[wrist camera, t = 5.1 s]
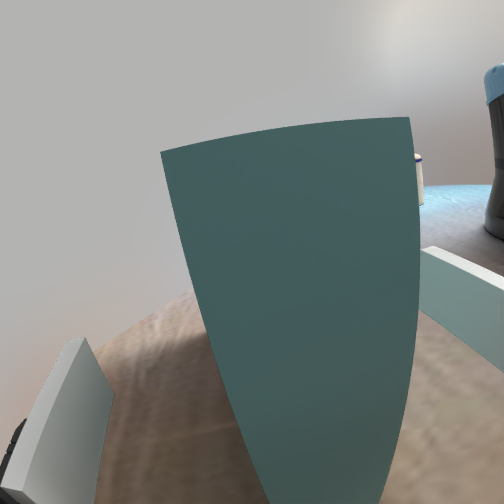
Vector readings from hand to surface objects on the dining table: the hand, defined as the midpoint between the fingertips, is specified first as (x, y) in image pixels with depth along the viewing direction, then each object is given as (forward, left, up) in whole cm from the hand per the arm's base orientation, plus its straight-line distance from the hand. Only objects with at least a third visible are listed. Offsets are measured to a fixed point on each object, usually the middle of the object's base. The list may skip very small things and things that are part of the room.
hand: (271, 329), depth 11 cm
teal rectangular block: (0, +1, -8) cm, 8 cm away
